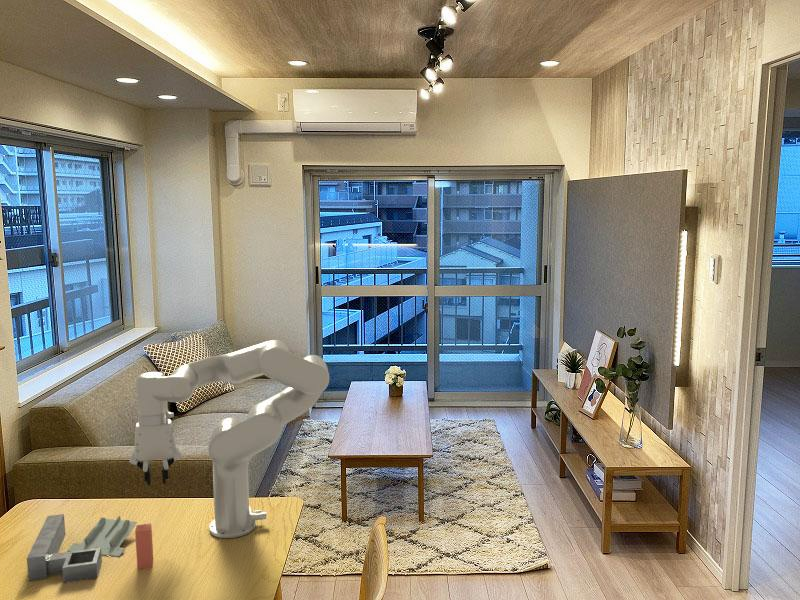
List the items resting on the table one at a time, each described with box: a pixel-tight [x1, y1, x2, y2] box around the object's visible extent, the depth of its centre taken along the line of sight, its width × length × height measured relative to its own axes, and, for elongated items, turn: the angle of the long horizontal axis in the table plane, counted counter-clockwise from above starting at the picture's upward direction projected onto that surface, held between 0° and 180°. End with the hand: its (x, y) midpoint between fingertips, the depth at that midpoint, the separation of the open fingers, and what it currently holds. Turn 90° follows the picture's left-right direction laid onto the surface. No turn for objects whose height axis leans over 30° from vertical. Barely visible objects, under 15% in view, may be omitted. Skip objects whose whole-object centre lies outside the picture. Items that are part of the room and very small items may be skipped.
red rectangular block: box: [134, 523, 154, 570], centre depth 164 cm, size 4×4×10 cm
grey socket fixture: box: [26, 513, 103, 584], centre depth 168 cm, size 16×25×6 cm, turn 17°
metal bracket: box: [66, 515, 137, 558], centre depth 175 cm, size 14×6×15 cm
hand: (157, 482), depth 177 cm, fingers open, 3 cm apart
